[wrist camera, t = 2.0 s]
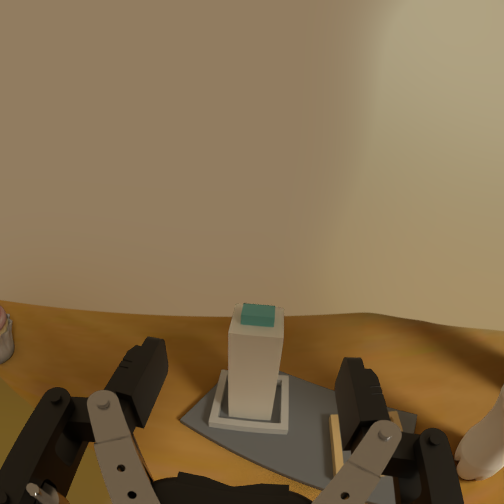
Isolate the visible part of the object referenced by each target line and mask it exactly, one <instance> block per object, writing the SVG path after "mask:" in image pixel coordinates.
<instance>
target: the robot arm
mask: <svg viewBox="0 0 504 504" xmlns="http://www.w3.org/2000/svg"><path fill="white" fill-rule="evenodd" d="M167 372H168V359H167V353H166V346H165V341H164V340H163V339H159V338H154V337H147V338H146V339H145V341H144V342H143V344H142V346H138V345H136V346H134V347H133V348H131V349H130V350H129V351H128V352H127V353H126V355H125V356H124V358H123V361H121V363H120V364H119V367H118V368H117V369H116V371H115V372H114V374H113V376H112V377H111V379H110V381H109V382H108V384H107V385H106V387H105V389H104V390H99V391H96V392H94V393H93V394H91V395H90V397H89V398H84V397H71V396H70V394H69V392H68V391H67V390H66V389H64V388H60V387H55V388H52V389H49V390H48V391H47V392H46V393H45V394H44V395H43V397H42V399H41V400H40V402H39V403H38V405H37V406H36V408H35V410H34V411H33V413H32V414H31V416H30V418H29V419H28V421H27V423H26V424H25V426H24V428H23V430H22V431H21V433H20V435H19V436H18V438H17V440H16V442H15V444H14V445H13V447H12V449H11V451H10V453H9V454H8V456H7V458H6V460H5V462H4V464H3V466H2V468H1V470H0V504H70V503H69V501H68V500H67V499H66V496H67V493H68V491H69V488H70V485H71V483H72V480H73V478H74V476H75V473H76V471H77V468H78V466H79V464H80V461H81V459H82V456H83V454H84V452H85V449H86V447H87V445H88V443H89V442H96V443H94V449H95V452H96V456H97V459H98V463H99V466H100V469H101V472H102V475H103V478H104V481H105V484H106V487H107V490H108V492H109V495H110V498H111V500H112V503H113V504H365V502H366V501H367V499H368V498H369V496H370V495H371V493H372V492H373V490H374V489H375V487H376V486H377V484H378V482H379V481H380V478H381V477H380V476H381V475H385V476H392V477H393V484H394V493H395V503H396V504H464V501H463V496H462V492H461V487H460V483H459V479H458V474H457V470H456V467H455V463H454V459H453V455H452V452H451V448H450V445H449V442H448V438H447V436H446V435H445V433H444V432H442V431H441V430H439V429H436V428H429V429H426V430H425V431H423V432H422V434H421V435H419V434H412V433H406V432H403V431H401V430H400V428H399V427H398V425H396V424H395V423H393V422H391V420H390V417H389V413H388V410H387V406H386V403H385V399H384V396H383V394H382V389H381V387H380V383H379V380H378V377H377V375H376V374H375V373H374V372H373V371H372V370H371V369H365V368H364V365H363V361H362V359H361V358H347V357H345V358H344V359H343V361H342V364H341V367H340V370H339V373H338V376H337V379H336V383H335V397H336V404H337V411H338V418H339V425H340V433H341V441H342V449H343V451H351V456H350V458H349V459H348V460H347V461H346V462H345V464H344V465H343V466H342V468H341V469H340V470H339V471H338V473H337V474H336V475H335V476H334V478H333V479H332V480H331V481H330V483H329V484H328V485H327V486H326V487H325V489H324V490H323V491H322V492H321V493H320V494H319V496H318V497H317V498H316V499H315V500H314V501H313V502H312V501H311V500H310V499H308V498H306V497H305V496H302V495H300V494H298V493H295V492H292V491H289V485H278V484H255V485H246V486H236V487H233V486H229V485H226V484H223V483H220V482H218V481H215V480H212V479H210V478H207V477H204V476H199V475H193V474H188V473H184V472H179V473H178V476H177V477H171V478H164V479H160V480H156V481H154V479H153V477H152V475H151V473H150V471H149V469H148V467H147V465H146V463H145V461H144V458H143V456H142V454H141V451H140V449H139V447H138V444H137V442H136V439H135V437H134V434H133V432H134V429H135V427H140V428H144V427H145V425H146V422H147V420H148V418H149V415H150V413H151V411H152V408H153V406H154V404H155V401H156V399H157V397H158V394H159V392H160V390H161V387H162V385H163V383H164V380H165V378H166V376H167Z"/></svg>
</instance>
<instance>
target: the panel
mask: <svg viewBox="0 0 504 504" xmlns="http://www.w3.org/2000/svg"><path fill="white" fill-rule="evenodd" d="M387 410H388V413H389V417H390V420H391V422H393V423H395V424H396V425H398V427H399V428H400V430H401V431H403V432H406V433H412V434H414V430H415V425H416V419H417V415H416V414H412V413H408V412H404V411H400V410H396V409H393V408H389V407H387ZM180 422H181V423H182V424H184V425H185V426H187V427H189V428H190V429H192V430H194V431H195V432H197V433H199V434H200V435H202V436H204V437H205V438H207V439H209V440H211V441H212V442H214V443H216V444H218V445H220V446H221V447H223V448H225V449H227V450H229V451H231V452H233V453H235V454H236V455H238V456H240V457H242V458H244V459H246V460H249V461H251V462H253V463H255V464H257V465H259V466H261V467H263V468H266V469H268V470H270V471H272V472H275V473H277V474H279V475H282V476H284V477H287V478H289V479H292V480H294V481H297V482H299V483H302V484H305V485H308V486H310V487H313V488H316V489H319V490H322V491H323V490H324V489H325V487H326V486H327V485H328V484H329V483H330V481H331V480H332V479H333V478H334V476H335V475H336V474H337V473H338V471H339V470H340V469H341V468H342V466H343V465H344V464H345V462H346V461H347V460H348V459H349V458H350V456H351V451H343V449H342V441H341V433H340V425H339V418H338V411H337V404H336V397H335V391H333V390H330V389H327V388H325V387H322V386H319V385H316V384H313V383H310V382H308V381H305V380H302V379H299V378H297V377H294V376H292V375H289V374H286V373H284V372H281V371H279V373H278V379H277V385H276V392H275V398H274V403H273V409H272V415H271V420H258V419H247V418H238V417H230V416H229V406H228V370H221V374H220V378H219V382H218V383H217V384H216V385H215V386H214V387H213V388H212V389H211V390H210V391H209V392H208V393H207V394H206V395H205V396H204V397H203V398H202V399H201V400H200V401H199V402H198V403H197V404H196V405H195V406H194V407H193V408H192V409H191V410H190V411H188V412H187V413H186V414H185V415H184V416H183V417H182V418H181V419H180ZM380 477H381V478H380V481H379V482H378V484H377V486H376V487H375V489H374V490H373V492H372V493H371V495H370V496H369V498H368V499H367V501H366V502H365V503H367V504H396V503H395V493H394V484H393V477H392V476H385V475H381V476H380Z"/></svg>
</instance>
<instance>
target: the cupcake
mask: <svg viewBox="0 0 504 504" xmlns="http://www.w3.org/2000/svg"><path fill="white" fill-rule="evenodd" d="M13 352H14V342H13V337H12V320H10V314H6V312H5V310H4V309H3V308H2V307H1V306H0V364H1V363H3V362H5V361H7V360H8V359H9V358H10V357H11V355H12V354H13Z"/></svg>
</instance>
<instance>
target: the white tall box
mask: <svg viewBox="0 0 504 504" xmlns="http://www.w3.org/2000/svg"><path fill="white" fill-rule="evenodd" d="M283 340H284V308H280V307H275V306H269V305H256V304H246V303H244V304H236V305H235V309H234V312H233V316H232V320H231V324H230V328H229V332H228V406H229V416H230V417H238V418H247V419H258V420H271V415H272V409H273V403H274V398H275V392H276V385H277V379H278V373H279V367H280V360H281V353H282V347H283Z"/></svg>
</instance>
